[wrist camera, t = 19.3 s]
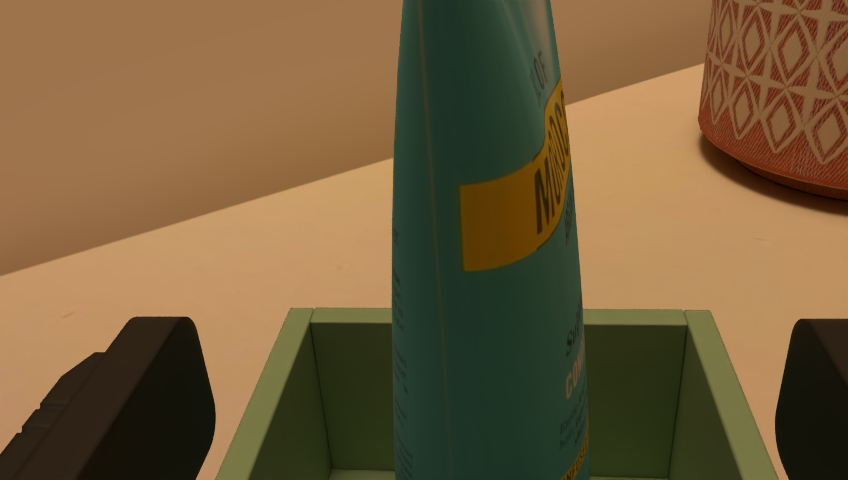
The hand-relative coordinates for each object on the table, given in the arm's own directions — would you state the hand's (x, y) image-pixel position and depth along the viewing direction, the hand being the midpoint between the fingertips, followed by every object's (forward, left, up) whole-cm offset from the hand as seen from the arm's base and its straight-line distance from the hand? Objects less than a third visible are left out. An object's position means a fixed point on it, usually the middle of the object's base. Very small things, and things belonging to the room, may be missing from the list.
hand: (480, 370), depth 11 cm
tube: (0, +5, -13) cm, 13 cm away
